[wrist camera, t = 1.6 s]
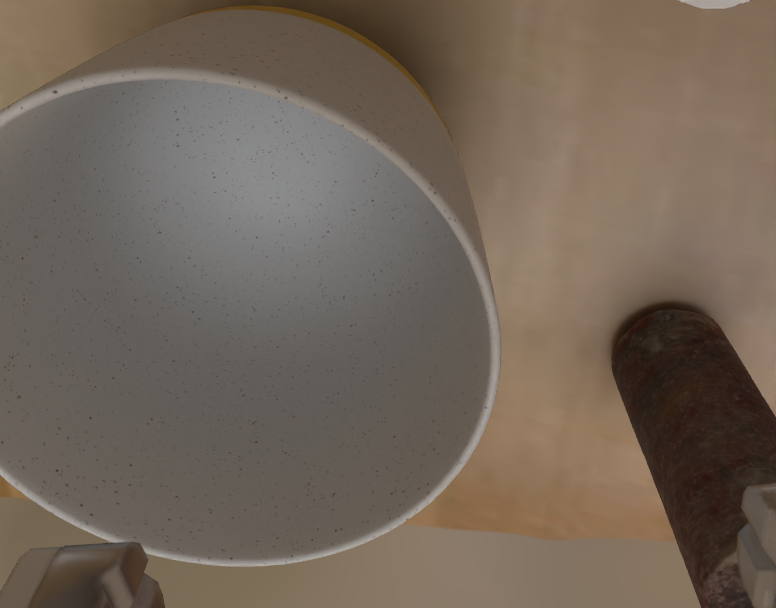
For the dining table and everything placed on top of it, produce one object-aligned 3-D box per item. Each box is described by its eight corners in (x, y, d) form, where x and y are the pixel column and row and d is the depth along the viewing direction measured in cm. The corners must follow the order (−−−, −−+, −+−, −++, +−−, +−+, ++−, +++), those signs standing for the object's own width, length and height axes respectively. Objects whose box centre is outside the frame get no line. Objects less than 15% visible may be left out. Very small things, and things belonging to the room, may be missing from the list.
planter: (57, 53, 40) (-238, 204, 22) (391, -88, 37) (375, -49, 18) (219, 336, 49) (108, 611, 31) (501, 246, 46) (565, 500, 27)
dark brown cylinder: (584, 374, 50) (675, 635, 33) (635, 284, 47) (768, 525, 29) (684, 404, 51) (823, 672, 34) (742, 318, 48) (930, 570, 30)
